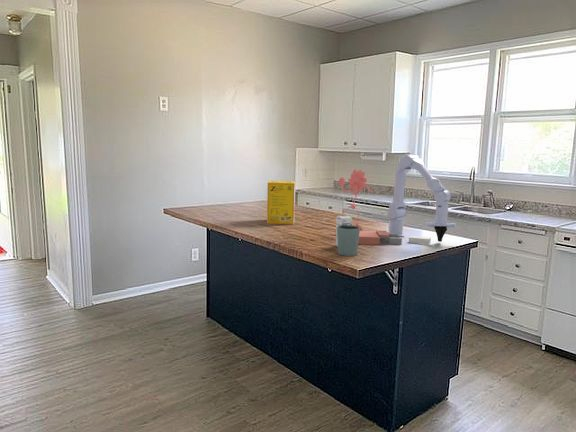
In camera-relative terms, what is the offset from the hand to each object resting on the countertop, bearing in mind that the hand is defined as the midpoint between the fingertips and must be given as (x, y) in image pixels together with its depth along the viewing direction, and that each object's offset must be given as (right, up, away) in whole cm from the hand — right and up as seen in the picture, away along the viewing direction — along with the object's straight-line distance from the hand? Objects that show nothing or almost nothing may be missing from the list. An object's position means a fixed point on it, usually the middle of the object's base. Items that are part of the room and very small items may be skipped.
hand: (439, 241), depth 222 cm
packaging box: (-80, +9, +55) cm, 98 cm away
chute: (-10, -1, +1) cm, 10 cm away
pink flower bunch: (-38, +3, +24) cm, 46 cm away
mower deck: (-30, 0, +2) cm, 30 cm away
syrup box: (-50, -2, -12) cm, 51 cm away
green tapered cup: (-50, -4, -25) cm, 56 cm away
